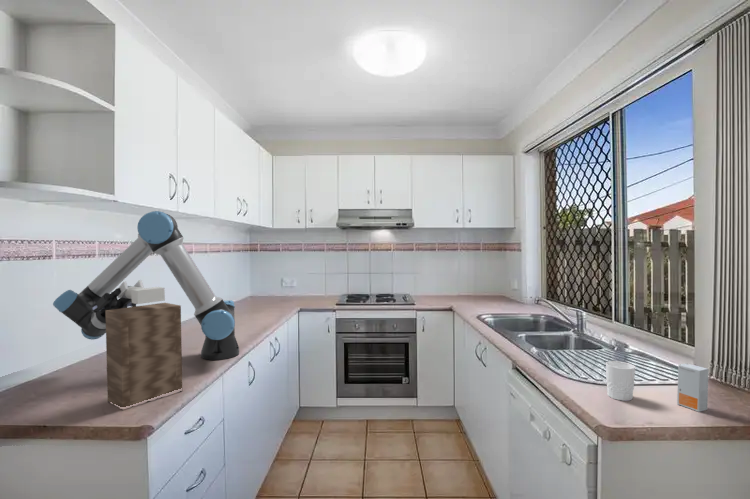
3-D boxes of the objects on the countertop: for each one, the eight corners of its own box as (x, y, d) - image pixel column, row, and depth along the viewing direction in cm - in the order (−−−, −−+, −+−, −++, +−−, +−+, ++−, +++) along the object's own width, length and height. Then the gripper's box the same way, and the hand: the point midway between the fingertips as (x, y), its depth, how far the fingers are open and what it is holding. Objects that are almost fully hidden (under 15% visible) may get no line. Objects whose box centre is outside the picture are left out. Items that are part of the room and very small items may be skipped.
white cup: (608, 390, 137) (608, 359, 136) (636, 396, 132) (637, 364, 131) (602, 397, 131) (603, 365, 130) (632, 403, 126) (633, 370, 125)
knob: (111, 299, 136) (110, 286, 136) (137, 296, 142) (136, 284, 142) (137, 304, 125) (137, 290, 125) (164, 300, 132) (164, 287, 131)
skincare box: (676, 404, 125) (677, 364, 124) (685, 402, 127) (686, 362, 126) (699, 412, 119) (700, 370, 119) (708, 410, 121) (709, 368, 121)
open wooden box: (166, 385, 143) (164, 302, 142) (182, 391, 137) (180, 305, 136) (107, 402, 128) (105, 310, 127) (122, 410, 122) (120, 314, 121)
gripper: (135, 320, 153) (163, 292, 141) (81, 328, 139) (107, 298, 127) (130, 301, 155) (157, 272, 143) (76, 308, 141) (101, 276, 129)
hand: (133, 284), depth 135 cm, fingers closed on knob, 4 cm apart
